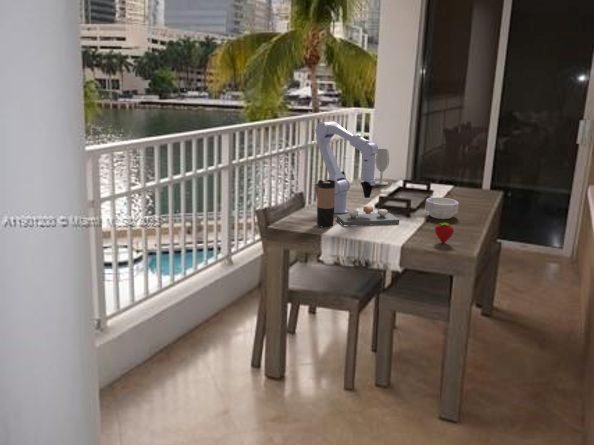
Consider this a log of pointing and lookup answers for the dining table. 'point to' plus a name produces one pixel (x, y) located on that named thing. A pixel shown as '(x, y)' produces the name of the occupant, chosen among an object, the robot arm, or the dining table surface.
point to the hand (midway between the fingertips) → (366, 197)
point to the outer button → (382, 212)
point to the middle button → (368, 210)
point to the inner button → (353, 213)
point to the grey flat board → (367, 219)
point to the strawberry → (444, 231)
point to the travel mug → (325, 203)
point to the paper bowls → (441, 207)
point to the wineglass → (382, 164)
